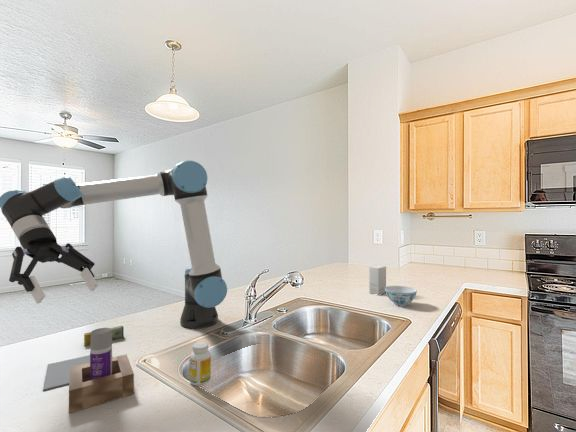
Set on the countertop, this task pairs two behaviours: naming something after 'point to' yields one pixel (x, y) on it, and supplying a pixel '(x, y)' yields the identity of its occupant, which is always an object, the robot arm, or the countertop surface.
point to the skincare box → (377, 279)
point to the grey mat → (61, 372)
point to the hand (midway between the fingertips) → (70, 293)
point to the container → (101, 353)
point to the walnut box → (100, 384)
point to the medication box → (116, 334)
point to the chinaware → (400, 294)
